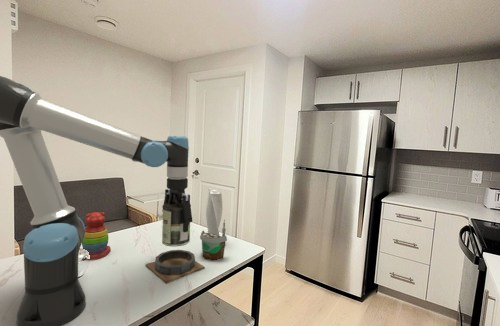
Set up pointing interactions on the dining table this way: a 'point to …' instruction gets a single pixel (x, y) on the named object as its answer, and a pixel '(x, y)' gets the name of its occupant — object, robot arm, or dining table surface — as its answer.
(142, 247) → the dining table surface
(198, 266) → the board
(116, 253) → the dining table surface
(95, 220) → the stacking bear
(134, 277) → the dining table surface
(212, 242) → the food container
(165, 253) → the collar
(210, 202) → the skyscraper
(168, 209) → the coffee can
